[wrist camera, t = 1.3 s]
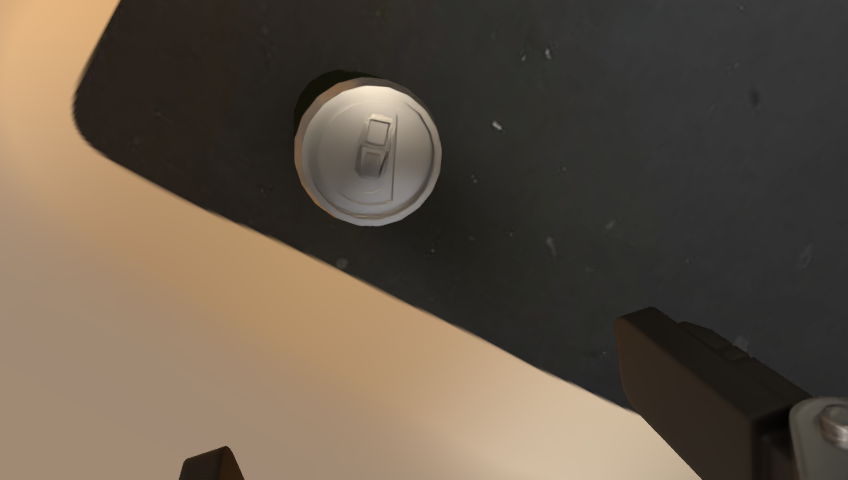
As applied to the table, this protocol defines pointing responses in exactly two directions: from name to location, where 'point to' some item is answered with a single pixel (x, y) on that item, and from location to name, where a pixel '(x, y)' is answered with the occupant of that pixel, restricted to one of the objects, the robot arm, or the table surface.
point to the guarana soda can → (365, 147)
